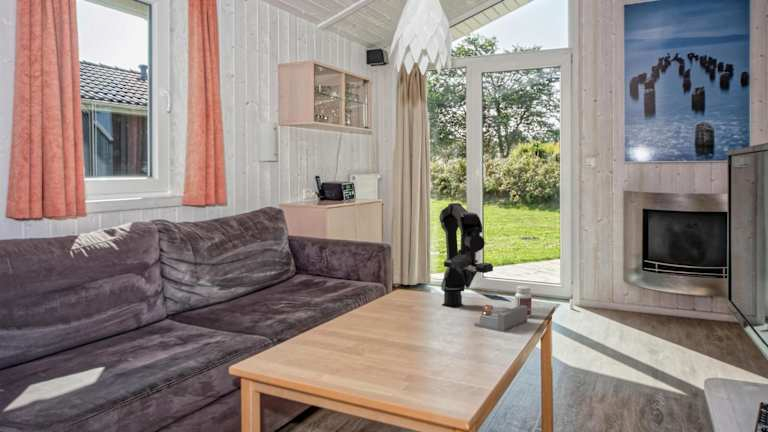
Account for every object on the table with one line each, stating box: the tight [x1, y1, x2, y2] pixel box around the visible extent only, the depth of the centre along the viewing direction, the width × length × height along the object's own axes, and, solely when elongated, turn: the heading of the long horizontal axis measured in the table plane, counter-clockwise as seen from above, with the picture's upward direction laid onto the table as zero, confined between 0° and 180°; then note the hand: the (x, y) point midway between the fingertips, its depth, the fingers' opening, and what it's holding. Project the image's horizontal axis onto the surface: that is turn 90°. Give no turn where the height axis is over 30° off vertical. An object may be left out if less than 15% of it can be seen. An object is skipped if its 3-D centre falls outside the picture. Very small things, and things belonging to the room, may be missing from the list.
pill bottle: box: [514, 285, 533, 318], centre depth 216 cm, size 6×6×11 cm
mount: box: [473, 305, 528, 333], centre depth 204 cm, size 12×17×6 cm
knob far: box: [483, 304, 508, 312], centre depth 210 cm, size 8×5×4 cm, turn 49°
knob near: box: [481, 309, 498, 318], centre depth 202 cm, size 8×5×4 cm, turn 49°
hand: (467, 287), depth 213 cm, fingers closed
